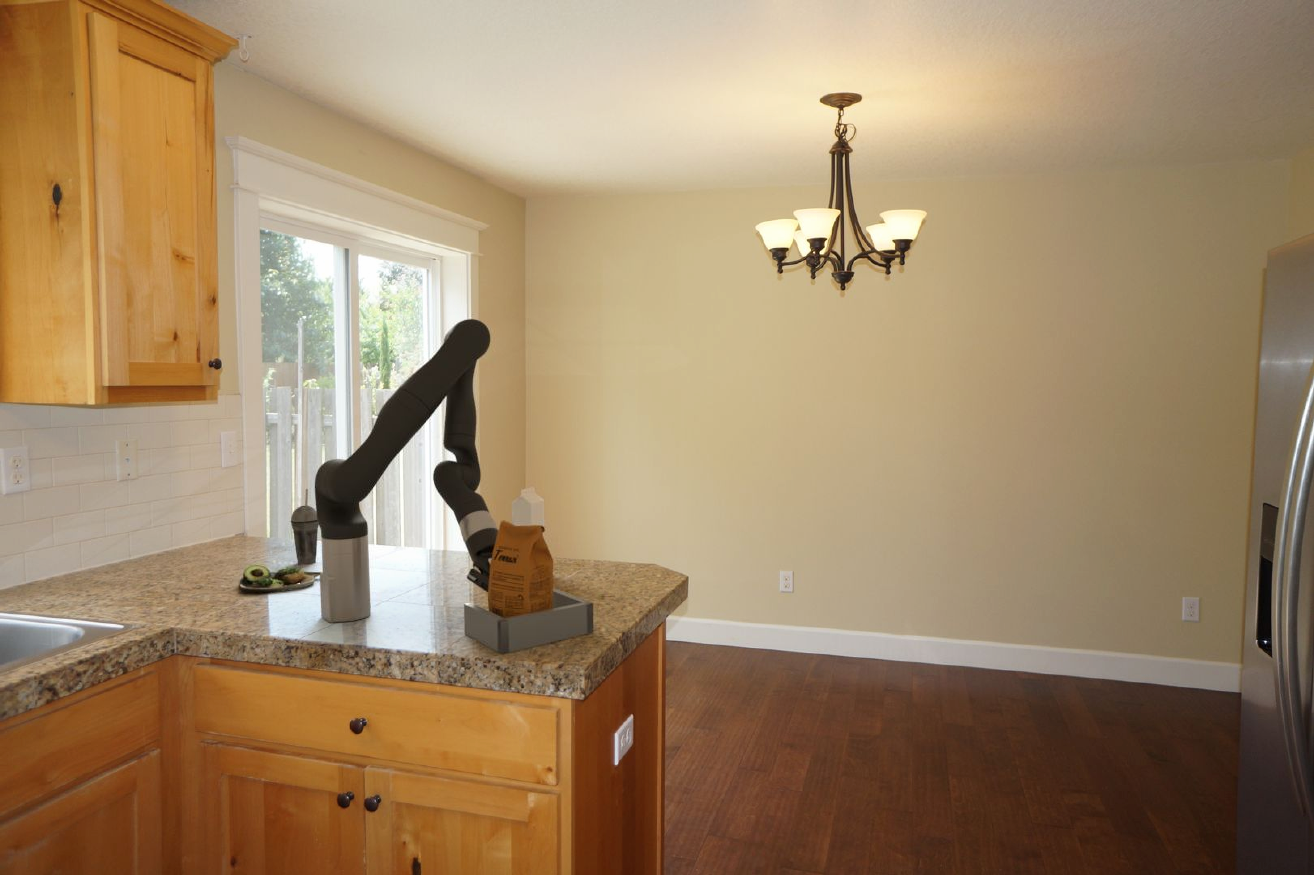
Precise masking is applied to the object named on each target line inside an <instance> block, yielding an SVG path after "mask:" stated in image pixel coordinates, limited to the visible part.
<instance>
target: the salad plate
mask: <svg viewBox="0 0 1314 875" xmlns="http://www.w3.org/2000/svg"><path fill="white" fill-rule="evenodd" d="M304 569H305V568H304V567H302V568H301V569H300V568H299V567H298V566H296V567H289V566H287V567H285V568H282V569H279V570H278V571H277V572H276V571H275V572H273V571H271V572H270V569H268V567H265V566H263V565H258V564H255V565H254V564H253V565H250V566H247V567H246V568H245V569H244V570H243V573H242V577H241V579H240V580H239V581H238V583H239V591H241V593H243V594H251V595H252V594H253V595H260V594H261V593H262V594H271V593H270V592H272V593H277V592H276V591H280V592H283V591H282V590H287V591H290V590H289V589H294V590H299V588H300V589H304V588H307V587H309V585H310V586H311V584H312V585H313V584H314V583H315V578H317V577H320V572H321V571H306V570H304ZM297 583H300V584H297ZM291 584H293V585H291ZM294 584H295V585H294ZM284 585H288V586H284ZM283 586H284V587H283ZM306 586H307V587H306ZM303 587H304V588H303Z"/></svg>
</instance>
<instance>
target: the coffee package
mask: <svg viewBox="0 0 1314 875" xmlns="http://www.w3.org/2000/svg"><path fill="white" fill-rule="evenodd" d="M498 530H499V531H498V534H497V537H496V542H495V546H494V550H493V555H492V559H491V563H490V576H489V589H488V592H487V604H488V605H487V606H488V611H490V612H492V613H494V614H496V615H498V616H500V617H502V618H509V617H514V616H519V615H524V614H529V613H534V612H539V611H544V610H549V609H553V588H554V574H553V573H554V558H553V557H552V554H551V551H550V550H549V547H548V544H547V543H546V539H545V540H544V537H543V532H545V533H546V528H545V529H544V527H543V526H542V525H532V526H515V525H513V524H512V522H509V521H506V520H504V519H503V520H501V521H500V524H499V528H498Z"/></svg>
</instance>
